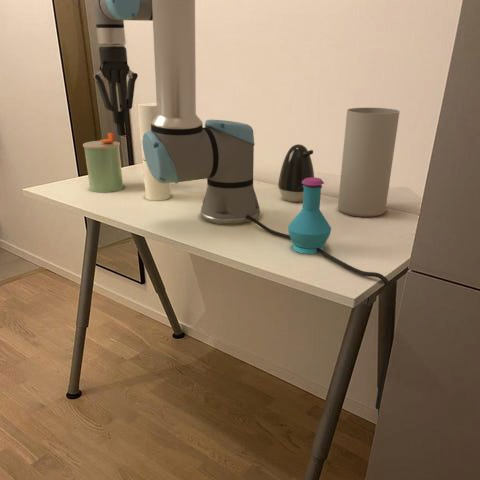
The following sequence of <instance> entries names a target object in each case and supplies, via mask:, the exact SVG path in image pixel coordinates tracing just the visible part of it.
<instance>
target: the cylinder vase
mask: <svg viewBox="0 0 480 480" xmlns="http://www.w3.org/2000/svg"><path fill="white" fill-rule="evenodd" d="M400 112H401V111H400V110H398V109H396V108H395V109H393V108H387V107H352V108H351V107H350V108H348V109H346V118H345V128H344V129H345V130H344V139H343V147H342V157H341V169H340V179H339V180H340V181H339V191H338V202H337V209H338V211H340V212H341V213H343V214H345V215H347V216H348V215H349V216H351V217H360V218H373V217H378V216H381V215H383V214H384V213H385V212H386V210H387V203H388V196H389V191H390V190H389V189H390V183H391V175H392V168H393V162H394V161H393V160H394V153H395V147H396V140H397V133H398V125H399V118H400Z"/></svg>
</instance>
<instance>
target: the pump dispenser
mask: <svg viewBox="0 0 480 480" xmlns="http://www.w3.org/2000/svg"><path fill="white" fill-rule="evenodd" d="M313 154H314V150H313V149H310V150H308V149H307V147H306V146H304V145H303V144H300V143H299V144H293V145H292V146H291V147H290V148H289V149H288V151H287V152H286V155H285V156H284V158H283V161H282V164H281V168H280V172H279V177H278V189H279V193H280V195H281V196H282V198H283V199H284V200H286V201H288V202H291V203H301V202H302V203H303V192H304V188H303V185H304V184H303V183H302V181H303V180H304V179H305V178H310V177H314V178H315V171H314V166H313V161H312V158H311V155H313Z"/></svg>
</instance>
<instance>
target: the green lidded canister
mask: <svg viewBox="0 0 480 480" xmlns="http://www.w3.org/2000/svg"><path fill="white" fill-rule="evenodd" d="M120 143H121V142H119V141H117V140H115V142H110V143H104V142H101V141H100V140H93V141H92V140H91V141H86V142H84V143H82V147H83V148H84V154H85V155H84V156H85V162H86V170H87V175H88V176H87V177H88V183H89V190H90V191H92V192H95V193H113V192H118V191H121V190H123V189H124V180H123V172H122V171H123V170H122V162H121V153H120V152H121V151H120Z"/></svg>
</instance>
